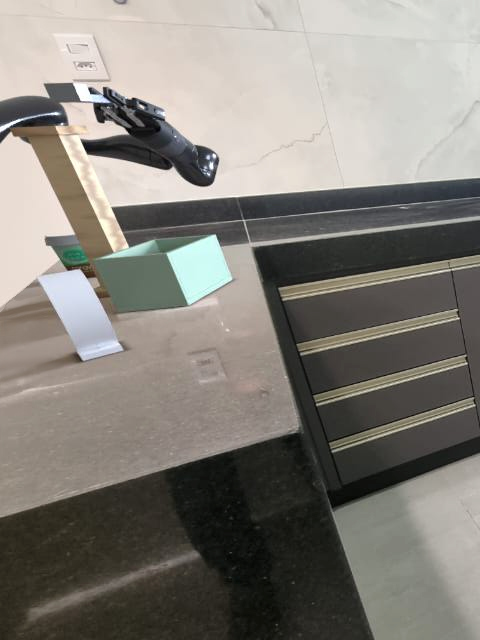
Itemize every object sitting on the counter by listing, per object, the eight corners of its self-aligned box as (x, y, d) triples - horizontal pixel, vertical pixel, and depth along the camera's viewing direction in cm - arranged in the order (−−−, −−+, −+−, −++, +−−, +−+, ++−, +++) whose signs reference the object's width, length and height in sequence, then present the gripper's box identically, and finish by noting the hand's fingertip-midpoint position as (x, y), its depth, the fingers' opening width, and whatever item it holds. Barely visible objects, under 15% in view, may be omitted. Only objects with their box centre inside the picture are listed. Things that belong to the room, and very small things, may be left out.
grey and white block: (102, 104, 113) (94, 87, 112) (128, 103, 114) (121, 86, 113) (51, 102, 100) (42, 83, 99) (81, 101, 101) (73, 82, 100)
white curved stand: (117, 343, 83) (80, 269, 78) (125, 352, 80) (86, 274, 75) (77, 353, 80) (35, 276, 75) (83, 362, 76) (40, 282, 71)
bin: (188, 305, 100) (166, 253, 96) (117, 312, 98) (91, 259, 94) (232, 279, 117) (215, 234, 112) (173, 285, 114) (153, 239, 110)
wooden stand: (113, 286, 116) (37, 127, 102) (160, 282, 117) (91, 125, 104) (84, 298, 108) (-3, 128, 94) (135, 293, 109) (57, 125, 96)
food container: (55, 283, 121) (32, 239, 117) (64, 277, 126) (42, 235, 121) (125, 273, 127) (105, 231, 122) (131, 268, 131) (112, 227, 127)
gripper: (121, 120, 125) (56, 74, 108) (188, 118, 127) (134, 72, 111) (124, 151, 124) (59, 109, 107) (191, 147, 127) (137, 106, 110)
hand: (97, 91), depth 109 cm, fingers closed on grey and white block, 2 cm apart
